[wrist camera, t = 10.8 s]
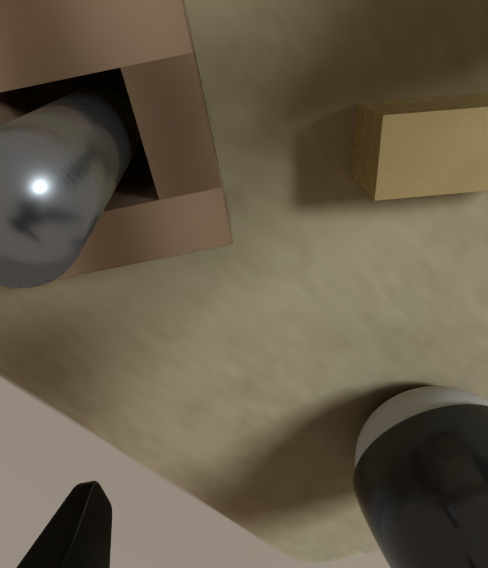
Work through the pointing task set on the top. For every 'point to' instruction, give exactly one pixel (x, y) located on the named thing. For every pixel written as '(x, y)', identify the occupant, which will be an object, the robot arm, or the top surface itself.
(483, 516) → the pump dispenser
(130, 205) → the socket block
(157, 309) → the top surface
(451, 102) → the square bit
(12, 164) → the cylinder
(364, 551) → the top surface
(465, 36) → the top surface
